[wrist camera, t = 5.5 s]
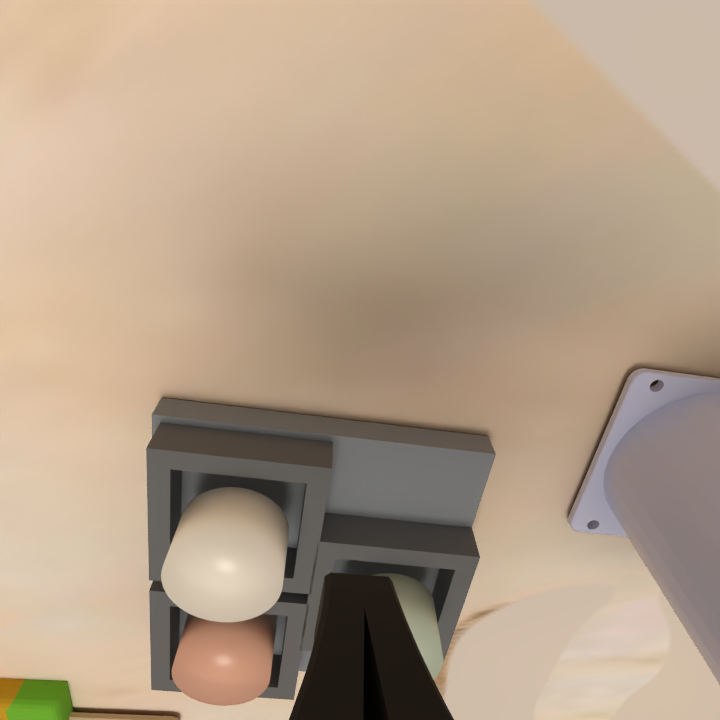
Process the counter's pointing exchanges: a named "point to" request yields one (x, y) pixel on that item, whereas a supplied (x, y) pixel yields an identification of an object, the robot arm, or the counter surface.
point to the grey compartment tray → (318, 511)
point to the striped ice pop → (49, 703)
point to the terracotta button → (225, 659)
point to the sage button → (420, 618)
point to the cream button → (227, 555)
